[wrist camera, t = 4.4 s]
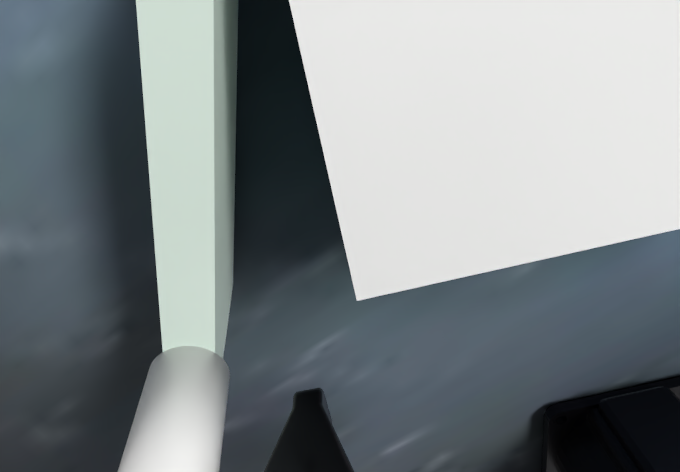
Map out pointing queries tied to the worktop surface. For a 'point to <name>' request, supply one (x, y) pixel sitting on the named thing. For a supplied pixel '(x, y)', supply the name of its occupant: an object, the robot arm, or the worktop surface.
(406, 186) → the instrument case
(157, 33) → the side door
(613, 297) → the worktop surface
